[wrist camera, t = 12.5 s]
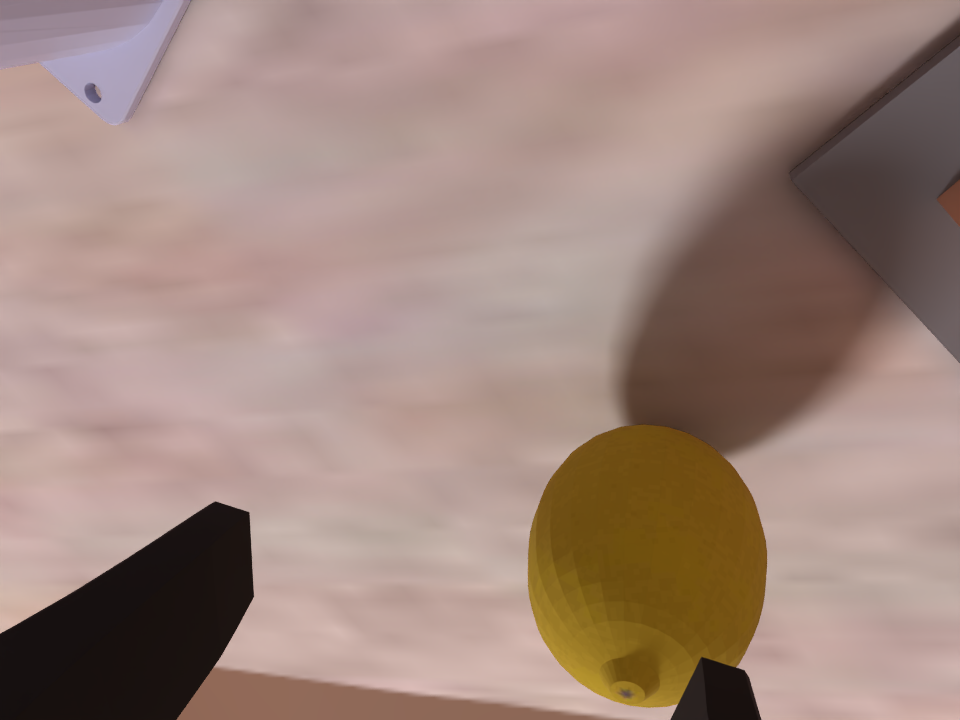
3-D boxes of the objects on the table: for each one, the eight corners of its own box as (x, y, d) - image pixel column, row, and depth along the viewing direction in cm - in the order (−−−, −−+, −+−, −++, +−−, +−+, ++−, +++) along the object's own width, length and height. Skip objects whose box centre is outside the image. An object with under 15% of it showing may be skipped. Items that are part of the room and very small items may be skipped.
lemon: (731, 351, 19) (740, 582, 12) (777, 515, 21) (806, 790, 14) (534, 391, 21) (449, 603, 14) (593, 535, 23) (543, 779, 16)
